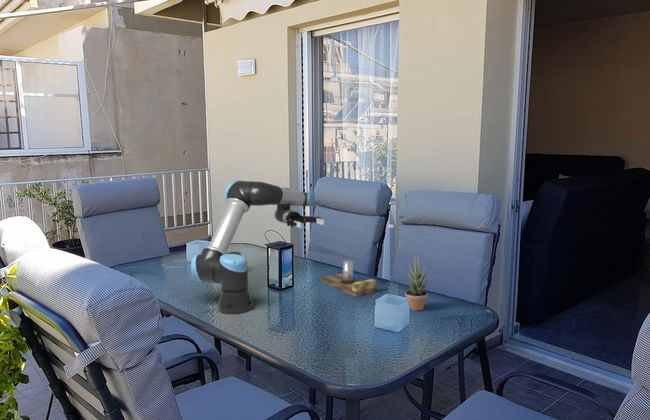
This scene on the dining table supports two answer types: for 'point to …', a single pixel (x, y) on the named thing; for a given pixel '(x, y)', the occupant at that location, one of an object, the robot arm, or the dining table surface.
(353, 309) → the dining table surface
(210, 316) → the dining table surface
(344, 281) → the steel sleeve
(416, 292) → the potted plant
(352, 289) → the jig bar
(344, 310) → the dining table surface
